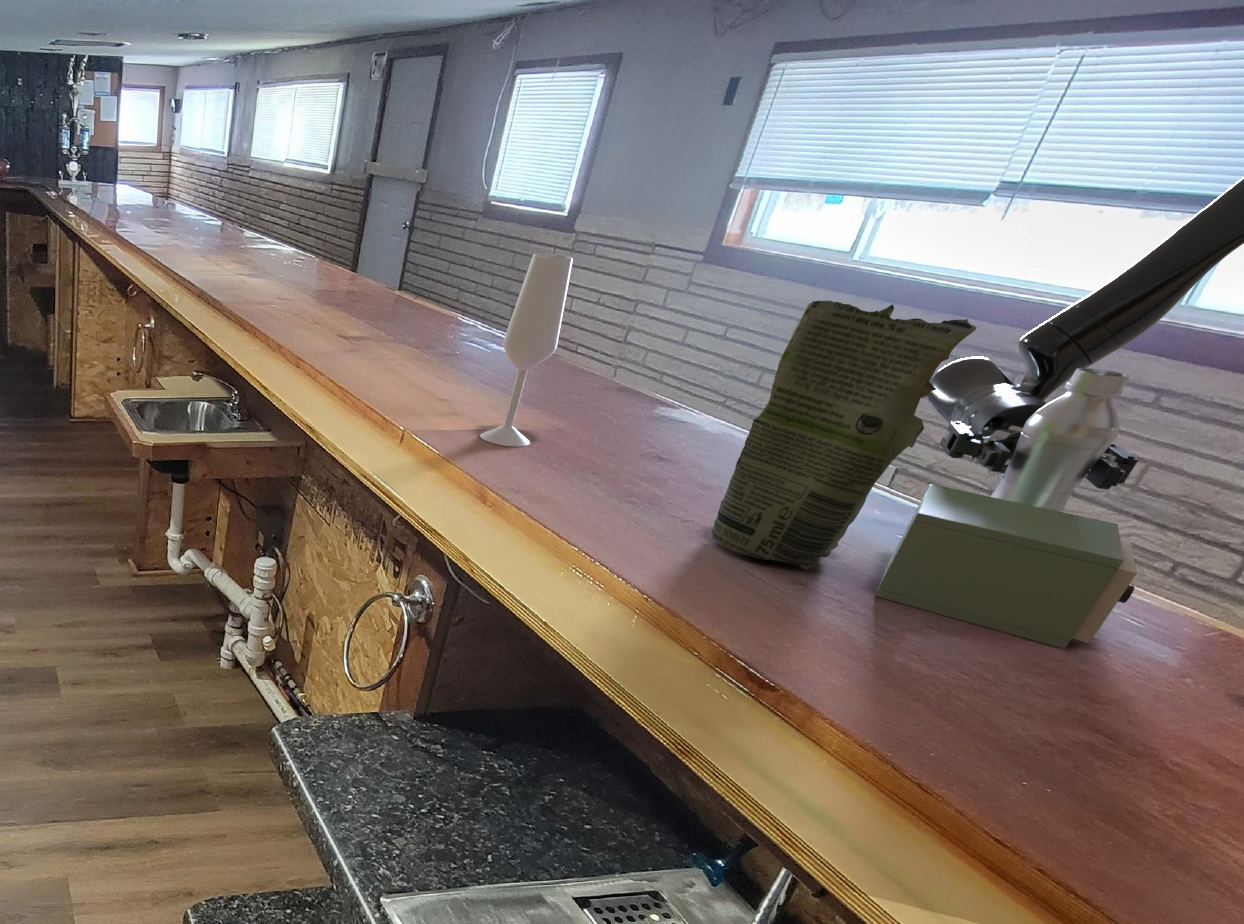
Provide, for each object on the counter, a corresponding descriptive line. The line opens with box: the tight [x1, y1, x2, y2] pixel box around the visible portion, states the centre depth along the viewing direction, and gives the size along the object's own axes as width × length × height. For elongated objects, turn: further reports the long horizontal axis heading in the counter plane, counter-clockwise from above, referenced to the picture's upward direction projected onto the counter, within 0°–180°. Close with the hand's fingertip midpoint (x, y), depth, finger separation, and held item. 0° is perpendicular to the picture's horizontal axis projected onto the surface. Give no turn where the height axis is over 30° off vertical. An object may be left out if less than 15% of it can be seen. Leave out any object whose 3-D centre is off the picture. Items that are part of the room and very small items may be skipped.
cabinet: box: [874, 483, 1124, 650], centre depth 83 cm, size 14×12×9 cm
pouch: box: [710, 300, 977, 571], centre depth 87 cm, size 11×12×25 cm
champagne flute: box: [479, 253, 574, 447], centre depth 120 cm, size 7×7×24 cm
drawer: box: [1071, 536, 1138, 644], centre depth 82 cm, size 14×10×7 cm
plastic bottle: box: [989, 367, 1130, 512], centre depth 88 cm, size 6×7×20 cm
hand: (1054, 470), depth 86 cm, fingers open, 7 cm apart
